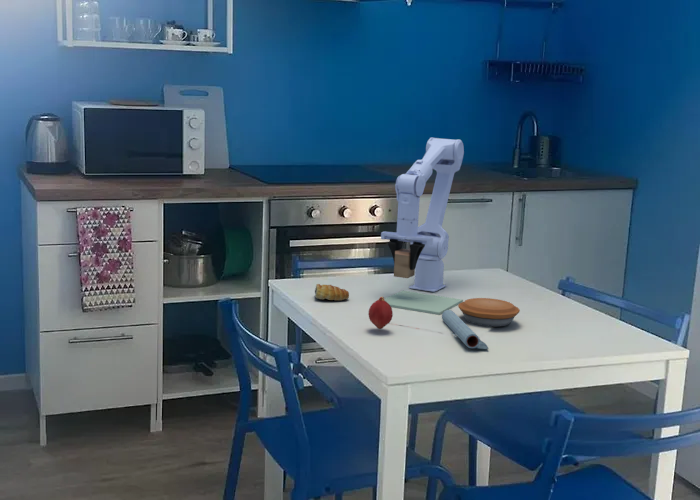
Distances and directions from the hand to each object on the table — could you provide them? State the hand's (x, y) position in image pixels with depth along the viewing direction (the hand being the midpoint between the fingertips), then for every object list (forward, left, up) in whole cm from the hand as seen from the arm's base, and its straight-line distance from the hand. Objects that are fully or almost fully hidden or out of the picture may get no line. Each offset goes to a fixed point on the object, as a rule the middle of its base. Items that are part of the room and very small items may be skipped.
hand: (404, 268), depth 242 cm
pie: (+7, +27, -9) cm, 29 cm away
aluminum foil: (+23, +26, -10) cm, 36 cm away
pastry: (+14, -13, -10) cm, 21 cm away
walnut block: (0, 0, -2) cm, 2 cm away
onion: (+31, +7, -9) cm, 34 cm away
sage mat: (0, +5, -9) cm, 10 cm away
